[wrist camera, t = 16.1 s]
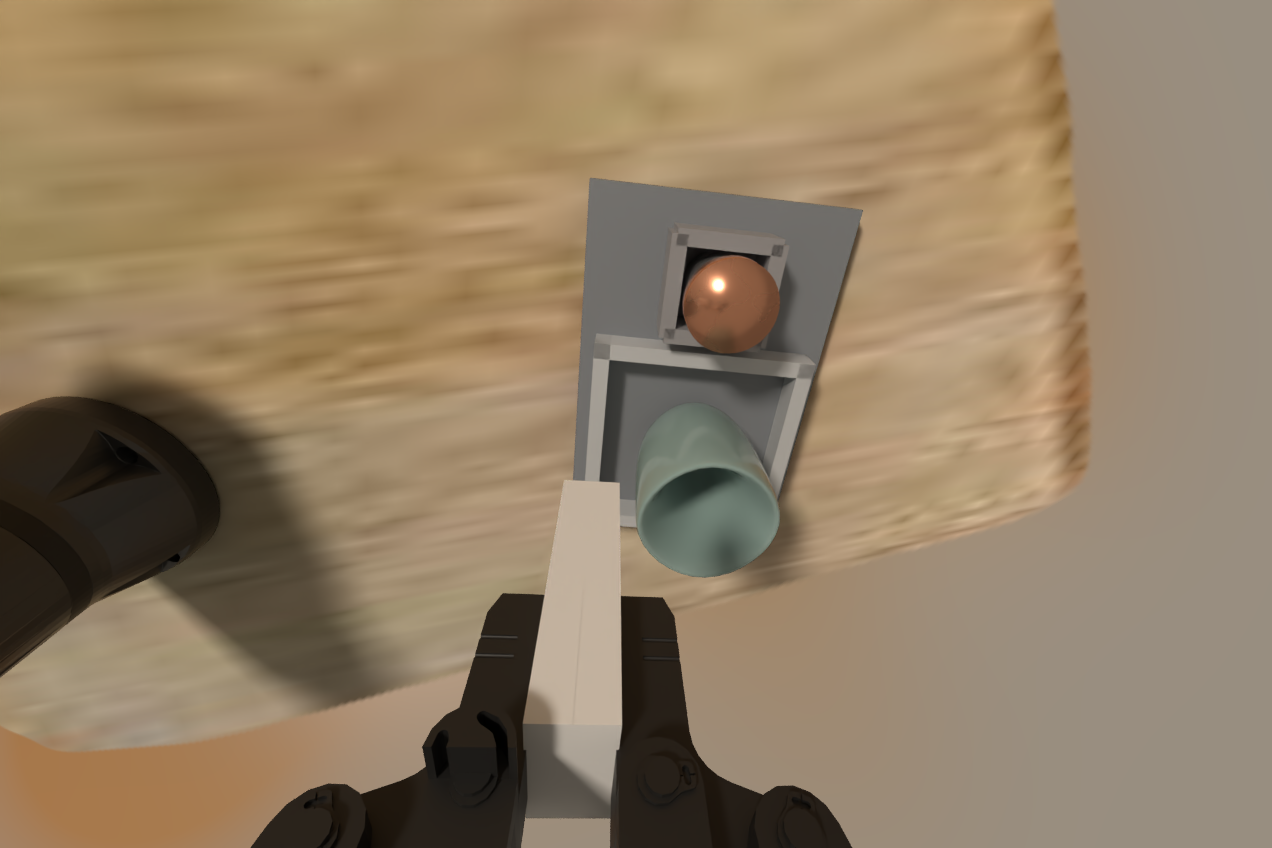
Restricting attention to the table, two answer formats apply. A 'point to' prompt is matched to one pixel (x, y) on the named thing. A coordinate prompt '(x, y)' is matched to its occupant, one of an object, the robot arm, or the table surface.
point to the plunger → (728, 301)
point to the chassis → (658, 334)
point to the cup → (702, 493)
